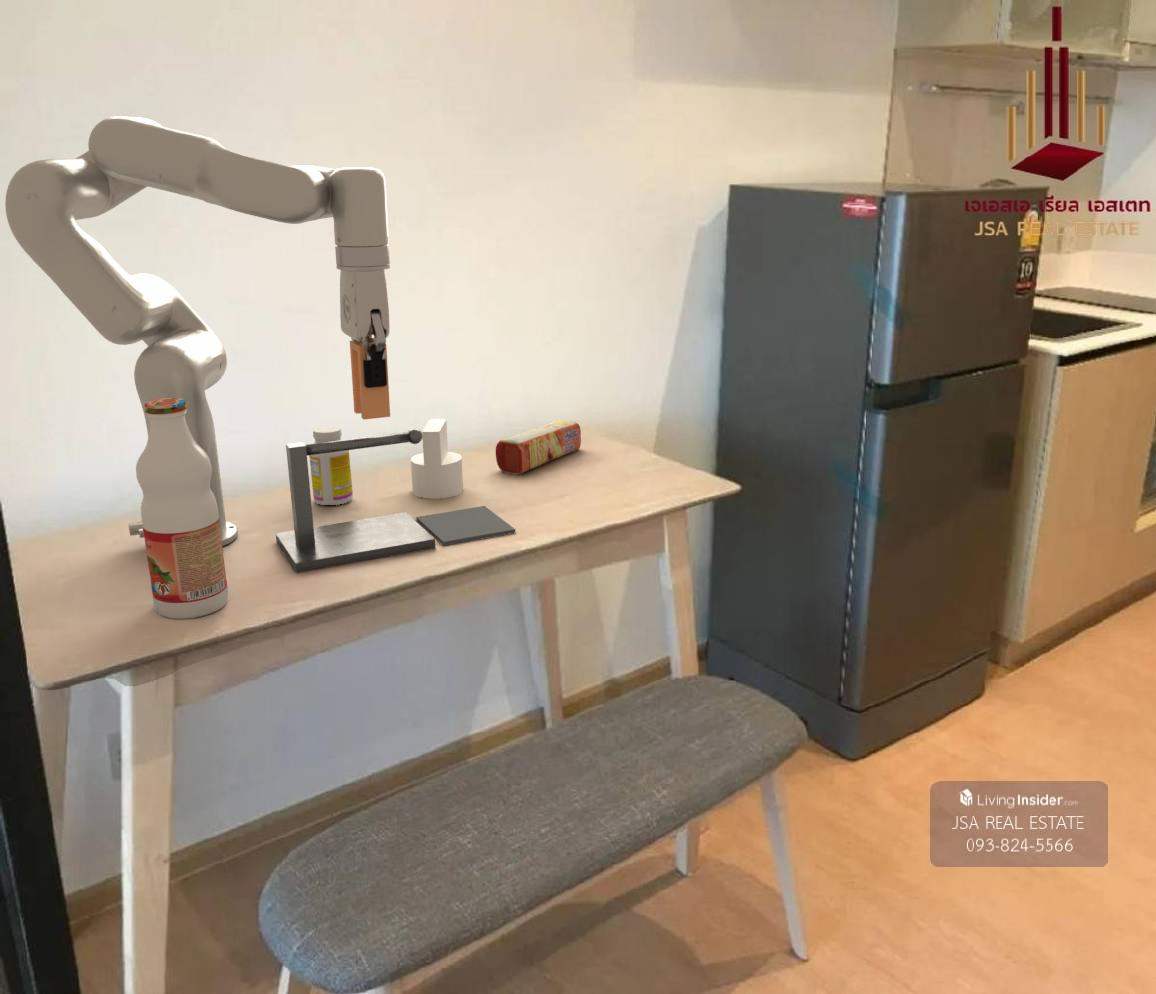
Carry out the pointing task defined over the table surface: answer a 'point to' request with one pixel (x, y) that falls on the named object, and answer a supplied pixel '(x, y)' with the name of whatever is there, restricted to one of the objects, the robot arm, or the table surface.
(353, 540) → the hanger stand
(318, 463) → the supplement bottle
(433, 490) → the base with upright slab
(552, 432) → the snack package
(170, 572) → the fruit juice
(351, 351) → the hook link
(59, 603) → the table surface
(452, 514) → the rubber mat
